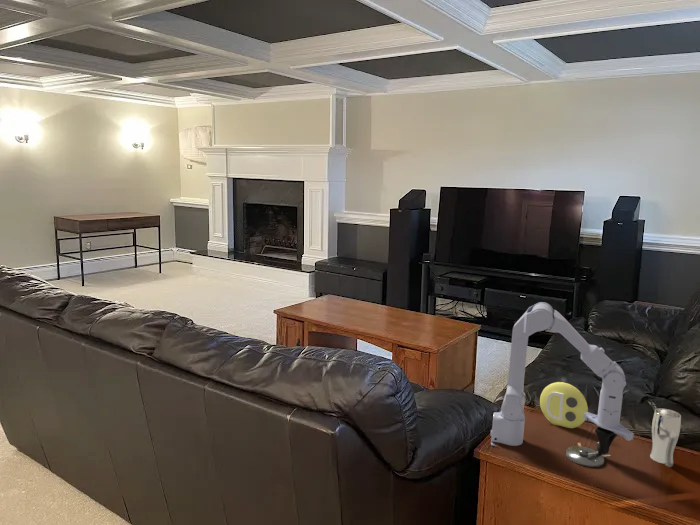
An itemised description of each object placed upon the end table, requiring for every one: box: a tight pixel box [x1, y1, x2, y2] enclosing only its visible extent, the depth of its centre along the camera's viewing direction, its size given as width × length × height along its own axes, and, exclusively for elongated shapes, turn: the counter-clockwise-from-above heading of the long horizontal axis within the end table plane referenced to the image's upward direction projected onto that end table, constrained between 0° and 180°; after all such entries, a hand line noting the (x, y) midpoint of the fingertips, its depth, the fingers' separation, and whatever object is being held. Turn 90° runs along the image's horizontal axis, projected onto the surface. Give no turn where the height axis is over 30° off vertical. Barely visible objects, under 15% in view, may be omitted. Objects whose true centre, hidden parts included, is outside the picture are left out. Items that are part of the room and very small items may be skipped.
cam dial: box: [565, 440, 605, 468], centre depth 156 cm, size 11×10×4 cm
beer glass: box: [649, 408, 682, 468], centre depth 156 cm, size 7×7×15 cm
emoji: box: [539, 381, 589, 429], centre depth 176 cm, size 5×15×15 cm
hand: (604, 453), depth 155 cm, fingers closed
